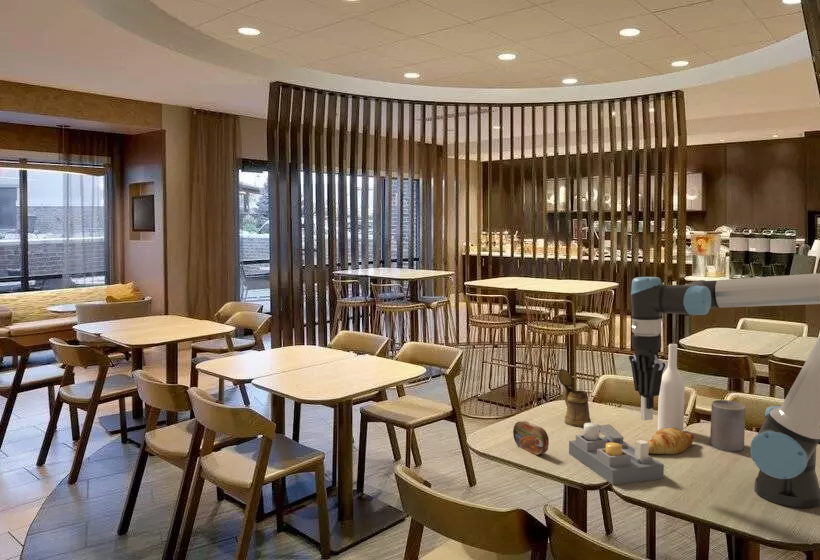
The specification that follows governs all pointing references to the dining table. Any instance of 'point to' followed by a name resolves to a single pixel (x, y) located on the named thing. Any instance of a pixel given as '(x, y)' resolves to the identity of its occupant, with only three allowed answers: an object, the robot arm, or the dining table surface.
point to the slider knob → (641, 449)
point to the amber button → (613, 449)
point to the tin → (531, 437)
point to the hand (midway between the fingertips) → (647, 419)
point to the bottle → (671, 395)
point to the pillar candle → (727, 425)
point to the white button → (591, 431)
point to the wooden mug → (574, 402)
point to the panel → (615, 461)
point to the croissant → (669, 441)
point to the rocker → (611, 433)
